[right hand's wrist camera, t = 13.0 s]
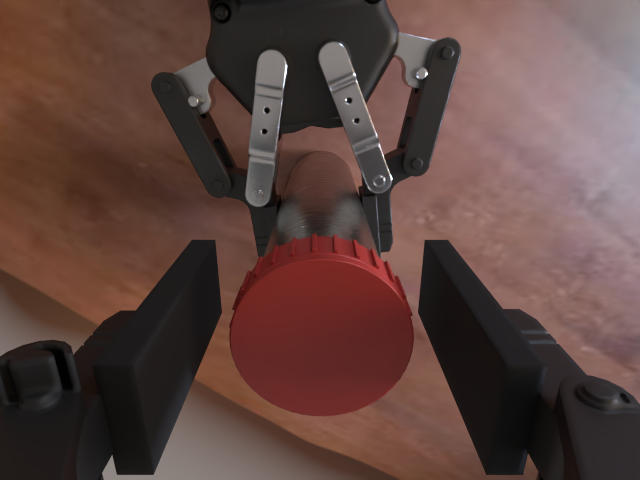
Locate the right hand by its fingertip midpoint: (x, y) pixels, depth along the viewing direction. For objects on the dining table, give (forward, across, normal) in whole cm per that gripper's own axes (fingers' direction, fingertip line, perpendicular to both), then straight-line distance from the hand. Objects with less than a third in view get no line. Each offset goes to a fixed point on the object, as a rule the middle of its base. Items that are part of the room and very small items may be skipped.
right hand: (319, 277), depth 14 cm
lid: (-3, 0, 0) cm, 3 cm away
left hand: (+8, 0, -3) cm, 8 cm away
